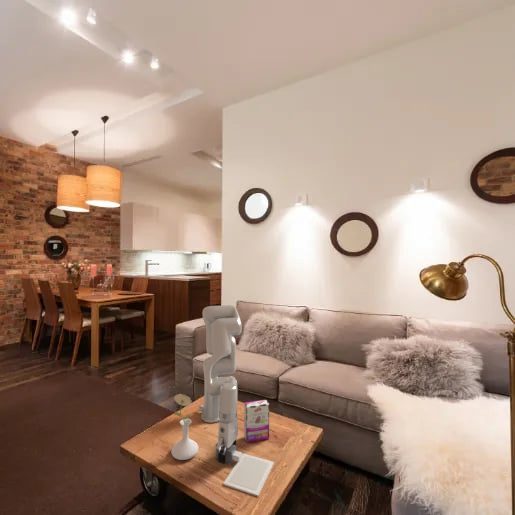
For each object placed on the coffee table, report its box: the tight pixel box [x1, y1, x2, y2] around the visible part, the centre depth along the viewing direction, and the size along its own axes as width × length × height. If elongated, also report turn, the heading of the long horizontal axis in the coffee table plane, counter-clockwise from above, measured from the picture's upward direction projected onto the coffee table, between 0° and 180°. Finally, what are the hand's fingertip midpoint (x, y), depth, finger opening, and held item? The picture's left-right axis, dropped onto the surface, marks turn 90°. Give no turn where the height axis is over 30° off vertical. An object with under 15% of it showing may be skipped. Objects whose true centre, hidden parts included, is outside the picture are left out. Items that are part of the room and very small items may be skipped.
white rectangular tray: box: [222, 452, 275, 497], centre depth 113 cm, size 14×18×1 cm
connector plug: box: [215, 442, 243, 465], centre depth 121 cm, size 11×4×5 cm, turn 69°
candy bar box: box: [243, 399, 270, 443], centre depth 136 cm, size 11×5×16 cm, turn 105°
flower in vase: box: [171, 393, 200, 461], centre depth 124 cm, size 13×11×25 cm
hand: (227, 455), depth 121 cm, fingers open, 9 cm apart
